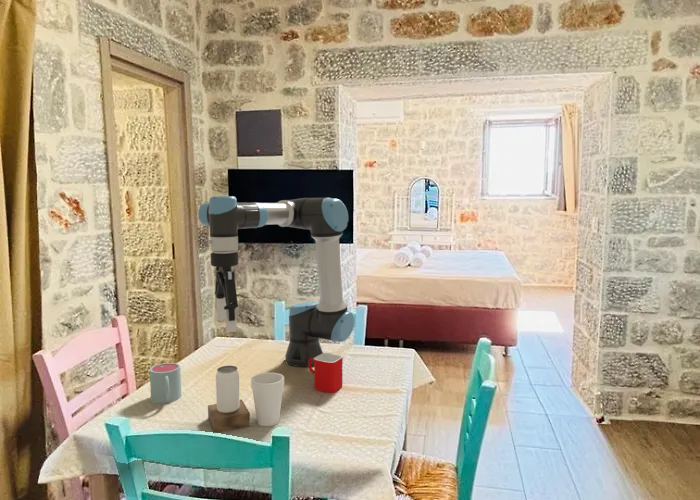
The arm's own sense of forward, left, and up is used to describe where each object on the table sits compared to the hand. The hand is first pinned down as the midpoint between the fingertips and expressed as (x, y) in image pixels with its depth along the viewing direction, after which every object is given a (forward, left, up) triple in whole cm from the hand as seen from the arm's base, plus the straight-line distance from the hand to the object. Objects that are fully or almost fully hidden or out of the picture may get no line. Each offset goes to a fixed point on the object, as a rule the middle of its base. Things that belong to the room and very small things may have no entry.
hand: (226, 325), depth 140 cm
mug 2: (-35, -13, -29) cm, 47 cm away
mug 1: (+15, -24, -29) cm, 40 cm away
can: (0, 0, -25) cm, 25 cm away
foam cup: (-10, +4, -29) cm, 31 cm away
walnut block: (0, 0, -29) cm, 29 cm away
